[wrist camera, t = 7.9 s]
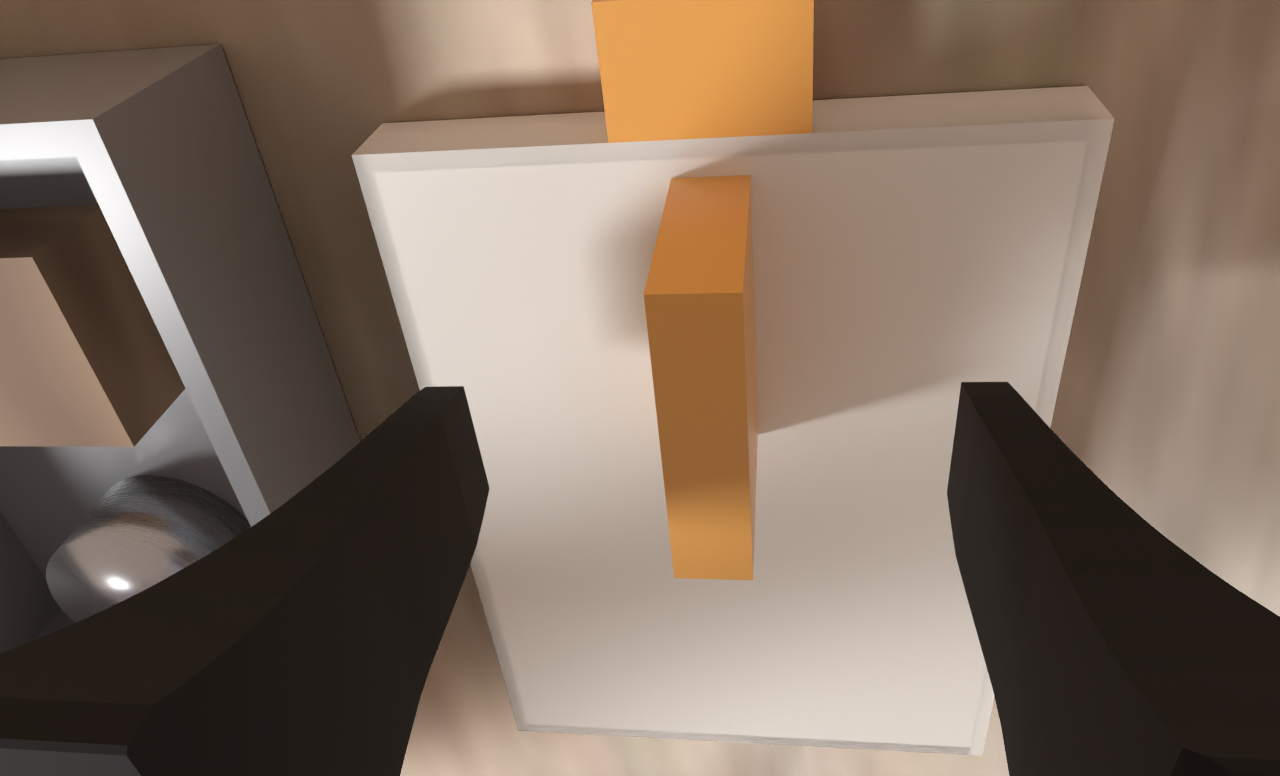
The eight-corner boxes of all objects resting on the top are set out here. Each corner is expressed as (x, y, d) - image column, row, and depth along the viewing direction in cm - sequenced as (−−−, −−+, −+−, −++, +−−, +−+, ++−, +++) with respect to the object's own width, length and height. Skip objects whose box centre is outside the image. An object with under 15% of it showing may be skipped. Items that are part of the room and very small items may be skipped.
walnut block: (17, 386, 19) (-52, 446, 18) (-88, 212, 17) (-178, 263, 16) (188, 384, 19) (134, 447, 17) (104, 204, 17) (32, 257, 15)
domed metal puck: (136, 591, 23) (89, 656, 22) (72, 472, 21) (13, 534, 19) (287, 600, 23) (250, 668, 21) (237, 479, 20) (192, 545, 19)
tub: (67, 601, 25) (-24, 715, 22) (-287, 79, 17) (-504, 152, 14) (420, 613, 23) (371, 737, 20) (220, 43, 15) (92, 119, 12)
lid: (530, 683, 24) (482, 870, 20) (349, -2, 14) (187, 105, 10) (972, 703, 23) (1012, 911, 19) (1115, -60, 13) (1265, 42, 9)
